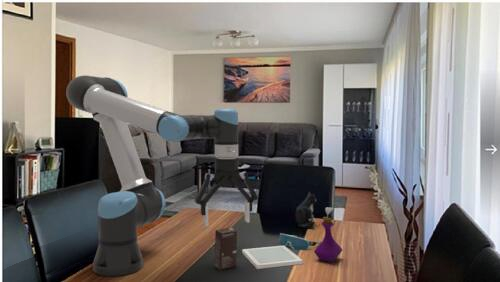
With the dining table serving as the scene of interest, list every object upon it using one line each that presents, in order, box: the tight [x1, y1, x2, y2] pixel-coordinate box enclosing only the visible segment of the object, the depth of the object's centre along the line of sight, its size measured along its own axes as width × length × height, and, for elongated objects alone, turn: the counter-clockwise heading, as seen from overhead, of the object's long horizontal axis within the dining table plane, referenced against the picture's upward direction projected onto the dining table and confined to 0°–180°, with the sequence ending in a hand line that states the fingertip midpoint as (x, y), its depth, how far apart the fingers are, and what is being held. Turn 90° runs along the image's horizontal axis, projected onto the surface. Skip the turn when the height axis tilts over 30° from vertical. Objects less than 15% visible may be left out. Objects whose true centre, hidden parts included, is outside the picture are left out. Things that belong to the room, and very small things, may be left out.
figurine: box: [294, 191, 317, 230], centre depth 182 cm, size 10×10×15 cm
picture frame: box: [241, 245, 304, 270], centre depth 144 cm, size 16×16×1 cm
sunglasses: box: [279, 233, 322, 251], centre depth 160 cm, size 14×15×5 cm
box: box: [214, 227, 238, 270], centre depth 135 cm, size 6×4×12 cm
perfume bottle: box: [313, 206, 343, 264], centre depth 142 cm, size 8×8×18 cm
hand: (226, 223), depth 134 cm, fingers open, 13 cm apart
